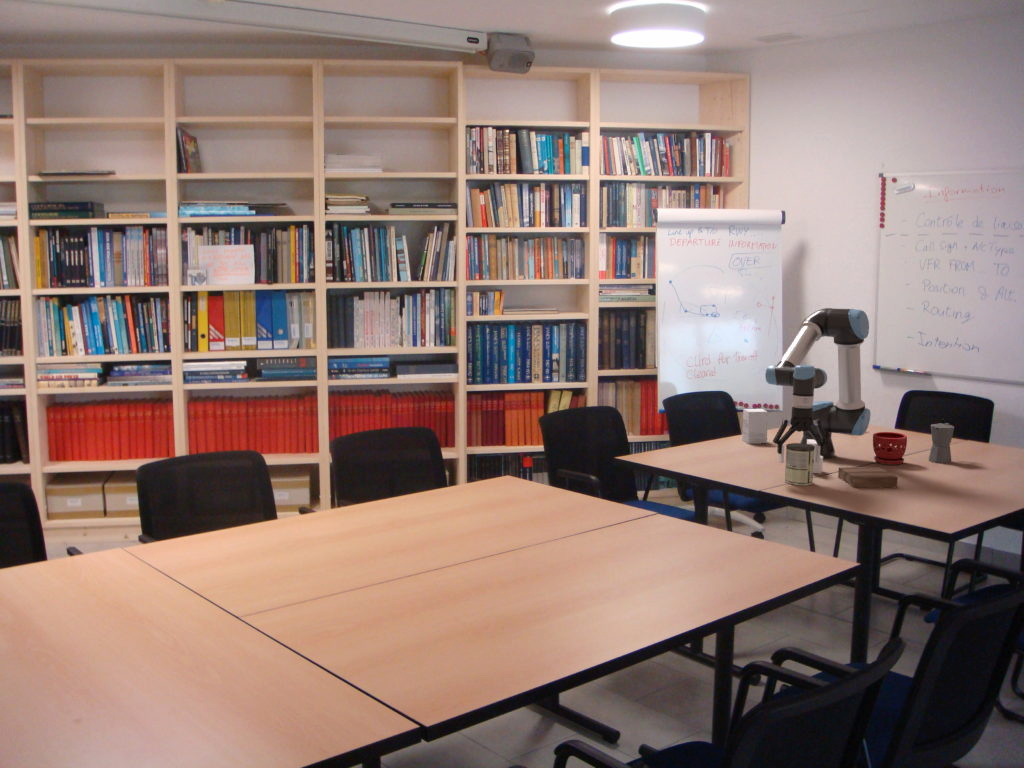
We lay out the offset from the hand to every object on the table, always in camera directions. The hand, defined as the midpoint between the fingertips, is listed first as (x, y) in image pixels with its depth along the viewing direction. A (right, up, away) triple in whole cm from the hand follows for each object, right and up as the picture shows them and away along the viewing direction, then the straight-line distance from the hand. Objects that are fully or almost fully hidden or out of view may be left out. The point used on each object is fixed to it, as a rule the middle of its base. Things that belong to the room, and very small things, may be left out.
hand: (799, 462), depth 351 cm
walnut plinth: (+26, -8, +2) cm, 27 cm away
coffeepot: (+72, -3, +41) cm, 83 cm away
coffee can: (0, -8, +1) cm, 8 cm away
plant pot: (+48, -3, +37) cm, 61 cm away
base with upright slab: (+11, -5, +20) cm, 24 cm away
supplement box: (+3, +3, +79) cm, 79 cm away
